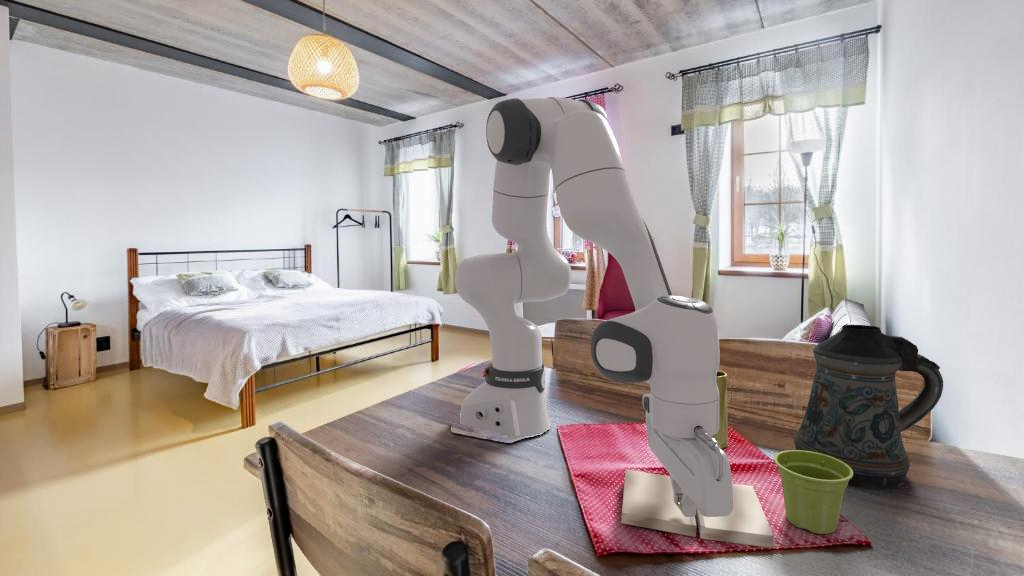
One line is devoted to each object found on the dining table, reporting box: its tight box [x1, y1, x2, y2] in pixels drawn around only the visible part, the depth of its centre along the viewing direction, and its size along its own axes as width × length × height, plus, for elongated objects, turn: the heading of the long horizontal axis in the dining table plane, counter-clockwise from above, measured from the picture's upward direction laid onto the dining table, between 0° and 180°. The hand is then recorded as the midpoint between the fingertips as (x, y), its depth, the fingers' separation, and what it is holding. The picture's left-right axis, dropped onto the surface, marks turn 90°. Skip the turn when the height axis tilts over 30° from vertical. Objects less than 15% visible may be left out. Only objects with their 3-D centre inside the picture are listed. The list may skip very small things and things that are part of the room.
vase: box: [711, 369, 730, 449], centre depth 93 cm, size 6×6×14 cm
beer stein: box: [793, 324, 944, 490], centre depth 81 cm, size 16×19×25 cm
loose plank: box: [620, 469, 698, 538], centre depth 72 cm, size 10×13×2 cm
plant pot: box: [773, 449, 853, 535], centre depth 67 cm, size 9×9×9 cm
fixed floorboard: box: [695, 483, 775, 549], centre depth 69 cm, size 9×13×2 cm
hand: (684, 510), depth 65 cm, fingers closed
